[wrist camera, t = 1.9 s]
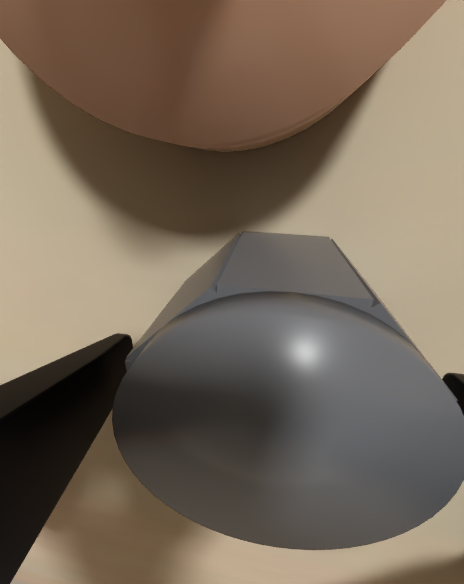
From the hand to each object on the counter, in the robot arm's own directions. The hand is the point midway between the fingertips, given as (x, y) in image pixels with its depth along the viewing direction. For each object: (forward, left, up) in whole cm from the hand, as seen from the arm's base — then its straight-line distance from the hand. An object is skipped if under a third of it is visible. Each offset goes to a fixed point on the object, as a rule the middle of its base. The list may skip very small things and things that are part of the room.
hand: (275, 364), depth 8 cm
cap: (0, 0, -2) cm, 2 cm away
